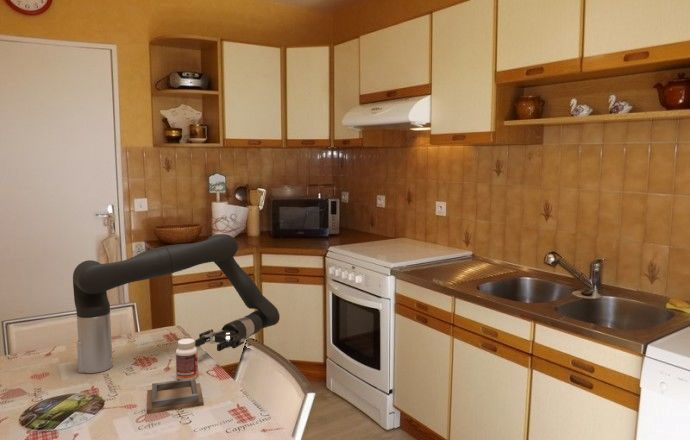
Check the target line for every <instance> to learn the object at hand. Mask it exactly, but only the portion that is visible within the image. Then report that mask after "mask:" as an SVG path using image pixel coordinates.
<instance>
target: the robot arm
mask: <svg viewBox="0 0 690 440" xmlns="http://www.w3.org/2000/svg"><path fill="white" fill-rule="evenodd" d="M238 249H239V244H238V241H237V239H235V237H234V236H232V235H229V234H227V233H220V234H219V233H218V234H212V235H210V236H209V237H208V238H207V239H205V240H202V241H199V242H194V243H179V244H178V243H177V244H171V245H170V244H169V245H165V246H160V247H155V248H151V249H148V250H145V251H143V252H140V253H138V254H136V255H134V256H132V257H130V258H127V259H125V260H120V261H119V260H118V261H114V262H107V263H100V262H99V261H96V260H85V261H81V262H80V263H79V264H78V265H77V266H76V267H75V268H74V269H73V273H72V285H73V286H72V288H73V289H72V290H73V300H74V306H75V311H76V326H77V327H76V328H77V329H76V330H77V342H76V348H77V349H76V350H77V353H76V354H77V366H78V367H77V368H78V369H77V370H78V374H96V373H97V374H98V373H101V372H104V371H108V370H110V369H111V368H112V367H113V344H112V342H113V341H112V326H111V325H112V324H111V322H112V321H111V304H110V301H109V297H108V292H107V291H110V290H112V289H115V288H119V287H121V286H123V285H127V284H129V283H135V282H140V281H145V280H150V279H153V278H159V277H163V276H167V275H171V274H174V273H177V272H182V271H184V270H187V269H190V268H193V267H196V266H199V265H203V264H208V263H214V264H215V265H216V266H217V267H218V268H219V270H220V271H221V272H222V273H223V274H224V276H225V277H226V279H228V281H229V282H230V284H231V285H232V287H233V288H234V289H235V291H236V292H237V294H238V296H239V297H240V298H241V299H240V300H242V302H243V303H244V305H245V306H246V307H247V309H249V310H250V309H251V310H254V311H252V312H251V313H249V314H248V315H245V316H243V317H239V318H237V319H234V320H232V321H230V322H228V323H225V324H224V325H223V326H222V328H221V329H220V330H217V331H214V329H207V330H206V331H204V332H201V333H199V335H198V338H197V339H194V343H195V344H194V346H195V347H196V348H199V347H201V346H202V345H204V344H208V343H209V344H211V345H213V344H217V345H216V351H217V352H221V351H223V350H225V349H230V348H231V349H236V348H238V347H240V346H241V345H243V344H244V343H245V341H246V340H247V339H249V338H250V337H251V336H253V335H255V334H257V333H258V332H260V331H261V330H262V329H266V328H268V327H273V326H275V325H277V324H278V323H279V322H280V319H281V317H280V312H279V310H278V308H277V307H276V306H275V304H273V302H271V301H270V300H269V299H268V298H267V297H265V296H264V295H263V293H262V292H261V290H260V288H259V287H258V285H257V284H256V283H255V281H254V280H253V279H252V277H250V275H249V274H248V273H247V272H246V271H245V270H243V268H242V267H241V266H240V264H238V262H237V260H236V259H235V258H234V256H235V255H236V254H237V253H238ZM213 338H214V340H213Z"/></svg>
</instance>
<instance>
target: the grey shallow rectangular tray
mask: <svg viewBox="0 0 690 440" xmlns="http://www.w3.org/2000/svg"><path fill="white" fill-rule="evenodd" d="M146 392H147V393H146V415H147V414H154V413H155V414H156V413H161V412H167V411H173V410H180V409H186V408H187V409H188V408H193V407H200V406H204V405H205V404H204V403H205V401H204V397H203V392H202V387H201V383H200V382H198V383H197V381H196V378H191V379H184V380H179V379H177V380H169V381H162V382H154V383H151V389H147V390H146Z"/></svg>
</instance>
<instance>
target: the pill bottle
mask: <svg viewBox="0 0 690 440" xmlns="http://www.w3.org/2000/svg"><path fill="white" fill-rule="evenodd" d="M177 341H178V342H177V349H176V350H175V373H176V374H175V376H176V378H177V380H184V379H191V378H195V379H196V378H197V377H198V376H199V366H198V365H199V364H198V363H199V362H198V361H199V360H198V347H196V346H195V339H193V338H181V339H179V340H177Z"/></svg>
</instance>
